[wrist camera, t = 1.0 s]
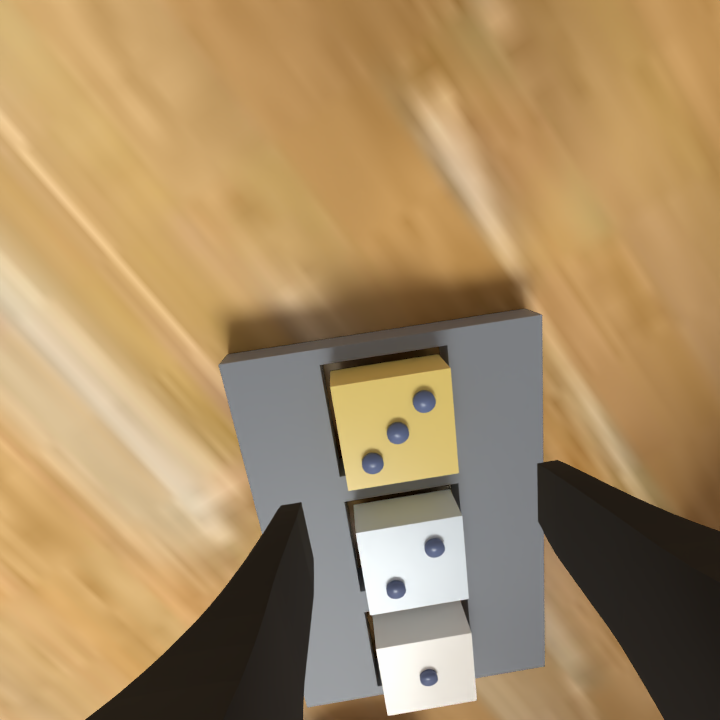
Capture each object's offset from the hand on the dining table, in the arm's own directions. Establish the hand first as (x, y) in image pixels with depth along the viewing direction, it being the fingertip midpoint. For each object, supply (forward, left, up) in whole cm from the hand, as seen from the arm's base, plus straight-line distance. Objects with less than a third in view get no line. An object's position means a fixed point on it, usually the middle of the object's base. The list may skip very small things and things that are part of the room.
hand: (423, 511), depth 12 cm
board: (0, +7, -8) cm, 11 cm away
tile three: (0, 0, -7) cm, 7 cm away
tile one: (0, +14, -7) cm, 16 cm away
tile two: (0, +7, -7) cm, 10 cm away
